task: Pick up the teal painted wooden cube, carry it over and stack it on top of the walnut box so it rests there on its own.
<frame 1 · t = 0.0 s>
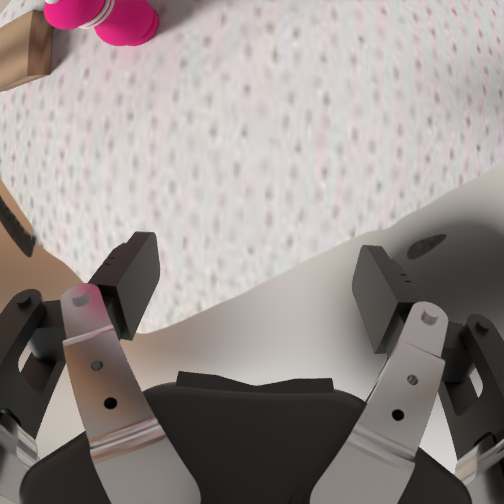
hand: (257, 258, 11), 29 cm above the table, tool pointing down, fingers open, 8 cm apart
pepper mill: (138, 26, 28), on the table
walnut box: (29, 52, 28), on the table
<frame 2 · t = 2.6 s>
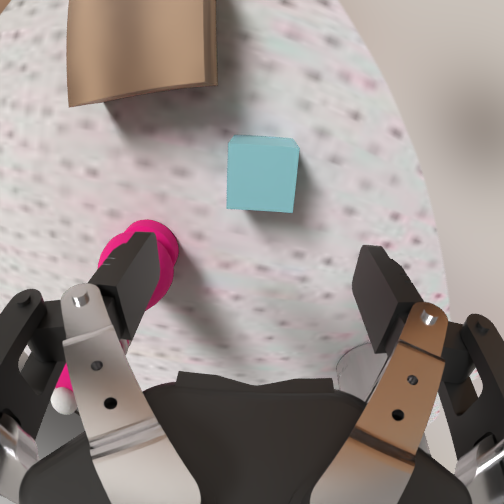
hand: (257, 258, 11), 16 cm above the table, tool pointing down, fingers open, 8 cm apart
teal cube: (262, 163, 25), on the table
pepper mill: (151, 245, 30), on the table
walnut box: (155, 36, 19), on the table
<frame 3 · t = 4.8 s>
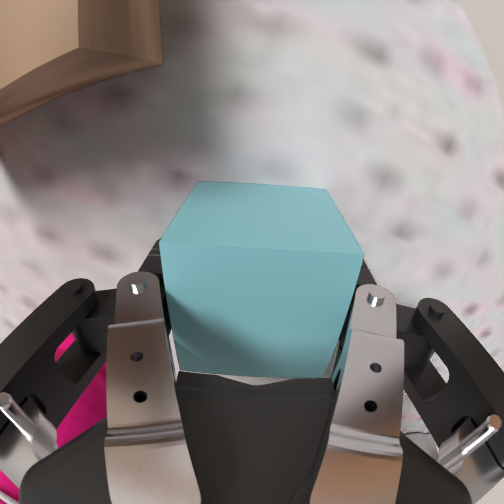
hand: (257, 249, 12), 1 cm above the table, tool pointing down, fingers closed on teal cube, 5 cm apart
teal cube: (258, 241, 12), on the table, touching gripper
pepper mill: (89, 348, 17), on the table
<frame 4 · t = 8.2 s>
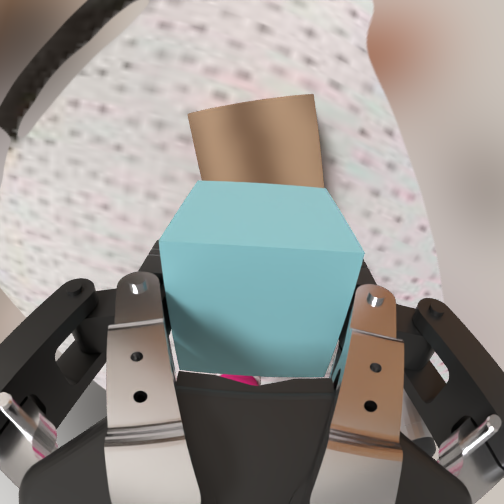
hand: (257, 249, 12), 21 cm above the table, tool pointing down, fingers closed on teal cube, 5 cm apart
teal cube: (258, 240, 12), point 21 cm above the table, touching gripper
walnut box: (260, 149, 31), on the table
when the fingers open (8 cm above the table, at t = 11.5 s): teal cube drops 2 cm, resting on walnut box.
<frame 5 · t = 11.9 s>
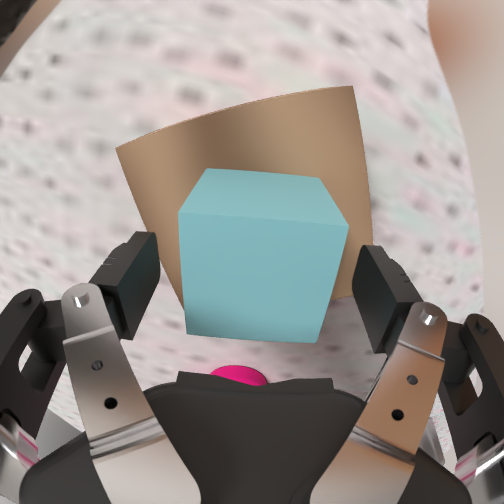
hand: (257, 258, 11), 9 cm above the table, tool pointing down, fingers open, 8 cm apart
teal cube: (258, 223, 14), point 6 cm above the table, touching walnut box
pepper mill: (237, 380, 30), on the table
walnut box: (258, 185, 19), on the table, touching teal cube
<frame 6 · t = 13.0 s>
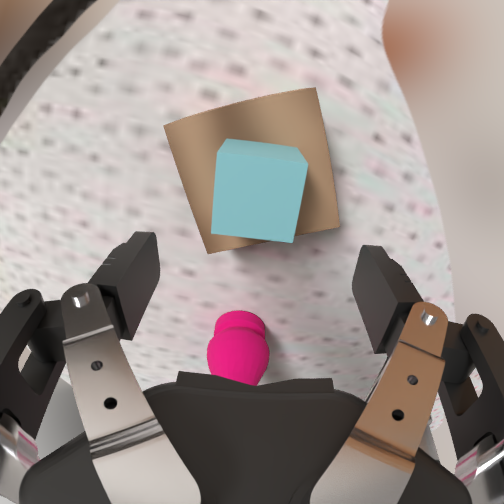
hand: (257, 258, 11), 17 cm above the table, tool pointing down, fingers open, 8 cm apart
teal cube: (257, 175, 21), point 6 cm above the table, touching walnut box
pepper mill: (240, 326, 37), on the table
walnut box: (257, 158, 26), on the table, touching teal cube
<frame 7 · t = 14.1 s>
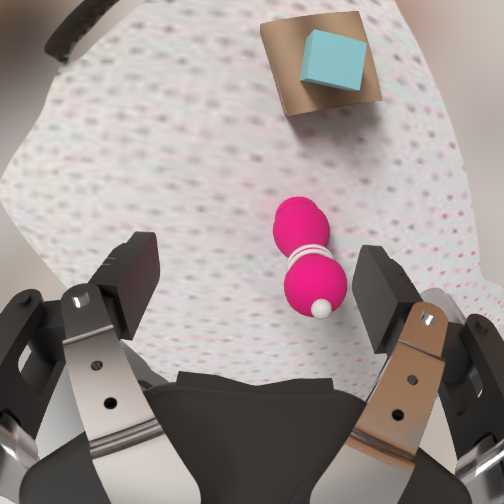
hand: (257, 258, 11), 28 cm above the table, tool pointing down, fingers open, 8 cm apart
teal cube: (326, 64, 26), point 6 cm above the table, touching walnut box
pepper mill: (297, 216, 41), on the table
walnut box: (314, 64, 30), on the table, touching teal cube
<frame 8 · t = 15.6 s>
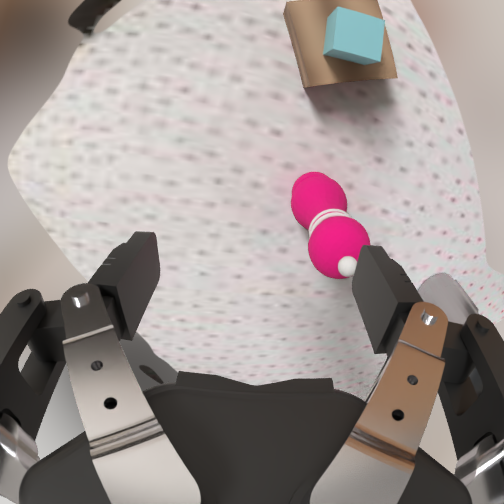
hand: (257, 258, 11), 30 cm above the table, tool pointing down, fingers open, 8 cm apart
teal cube: (346, 40, 25), point 6 cm above the table, touching walnut box
pepper mill: (313, 192, 41), on the table
walnut box: (333, 45, 30), on the table, touching teal cube
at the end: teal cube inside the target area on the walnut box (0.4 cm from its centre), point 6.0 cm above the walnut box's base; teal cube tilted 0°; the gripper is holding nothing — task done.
